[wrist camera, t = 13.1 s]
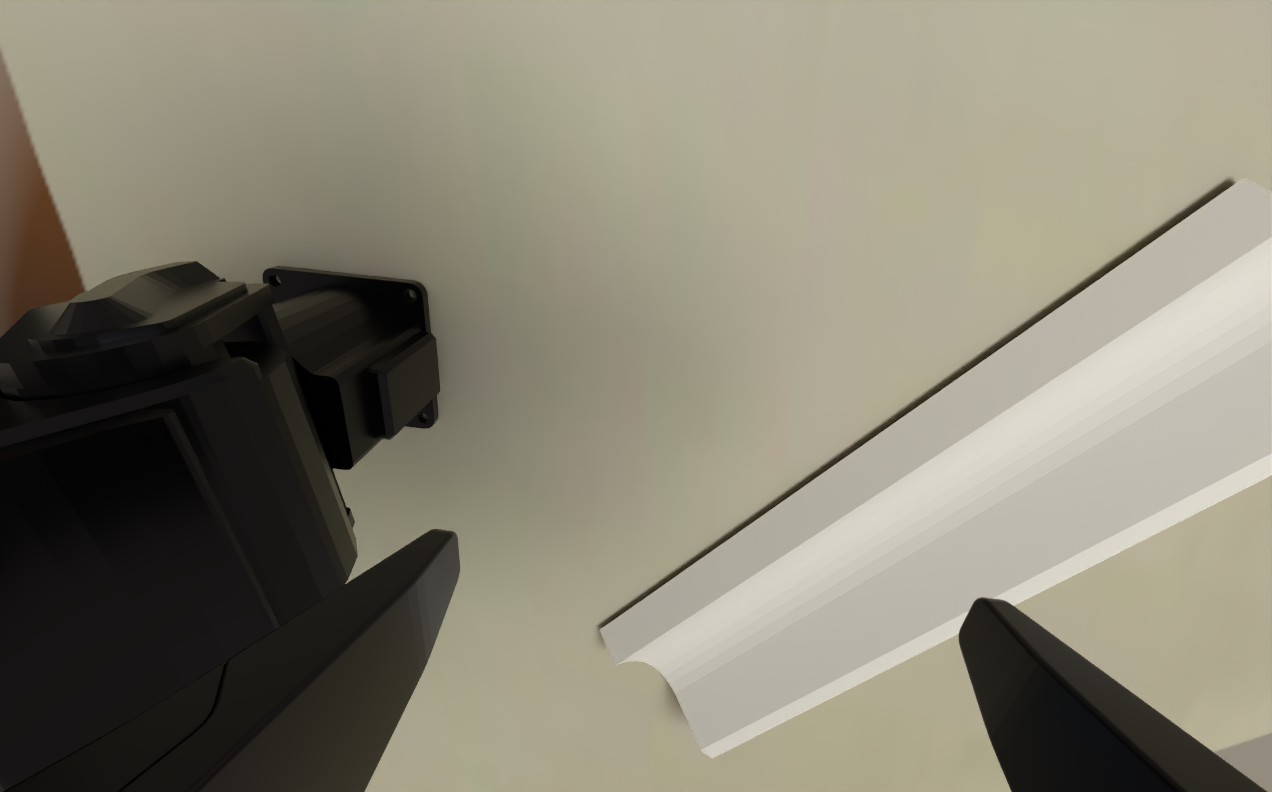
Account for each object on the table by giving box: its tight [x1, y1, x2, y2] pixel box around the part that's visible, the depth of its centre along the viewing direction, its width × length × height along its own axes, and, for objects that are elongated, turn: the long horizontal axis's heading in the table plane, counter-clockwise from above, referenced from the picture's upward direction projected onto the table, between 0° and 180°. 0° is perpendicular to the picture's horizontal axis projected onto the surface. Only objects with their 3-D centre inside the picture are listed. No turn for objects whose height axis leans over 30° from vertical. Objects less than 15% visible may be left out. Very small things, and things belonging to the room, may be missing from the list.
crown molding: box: [600, 177, 1272, 758], centre depth 23 cm, size 31×12×4 cm, turn 136°
